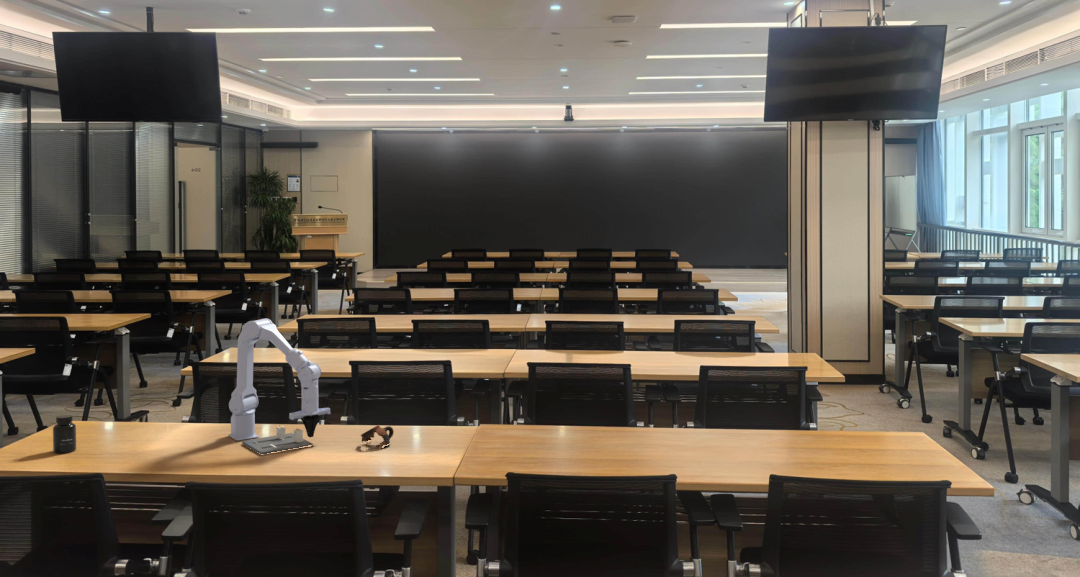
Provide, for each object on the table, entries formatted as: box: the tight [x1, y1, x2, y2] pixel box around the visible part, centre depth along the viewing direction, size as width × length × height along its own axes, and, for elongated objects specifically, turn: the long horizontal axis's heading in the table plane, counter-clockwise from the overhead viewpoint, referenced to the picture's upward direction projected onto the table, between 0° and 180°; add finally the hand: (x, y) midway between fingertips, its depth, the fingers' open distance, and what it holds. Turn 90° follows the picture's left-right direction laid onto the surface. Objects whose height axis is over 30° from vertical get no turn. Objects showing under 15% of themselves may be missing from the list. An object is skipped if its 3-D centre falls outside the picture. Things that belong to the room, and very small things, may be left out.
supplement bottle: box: [52, 414, 77, 455], centre depth 277 cm, size 7×7×12 cm
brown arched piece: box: [360, 424, 395, 447], centre depth 289 cm, size 12×10×8 cm
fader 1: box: [276, 425, 286, 439], centre depth 291 cm, size 3×2×4 cm, turn 40°
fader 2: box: [293, 428, 304, 443], centre depth 287 cm, size 3×2×4 cm, turn 40°
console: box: [241, 432, 313, 454], centre depth 286 cm, size 18×18×1 cm
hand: (310, 436), depth 290 cm, fingers closed
